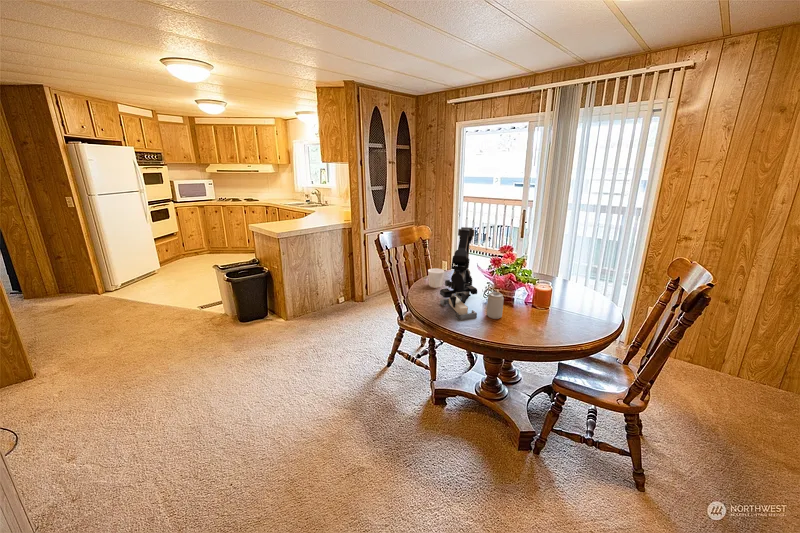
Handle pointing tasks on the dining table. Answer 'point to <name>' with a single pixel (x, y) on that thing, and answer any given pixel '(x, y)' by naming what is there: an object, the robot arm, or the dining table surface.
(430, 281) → the cup
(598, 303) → the dining table surface
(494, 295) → the can
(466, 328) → the dining table surface
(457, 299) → the beige wooden bar
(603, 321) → the dining table surface
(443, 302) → the end caps
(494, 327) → the dining table surface
